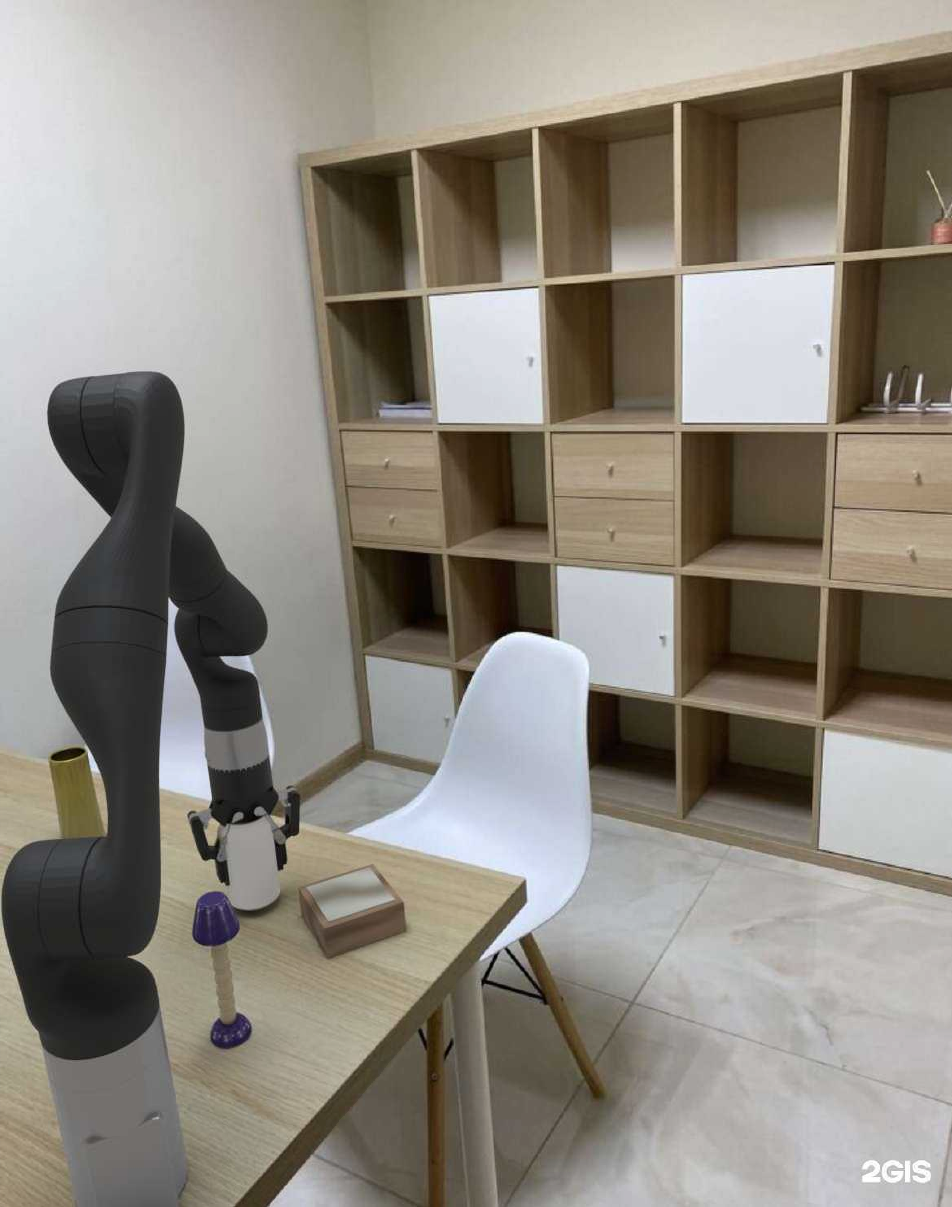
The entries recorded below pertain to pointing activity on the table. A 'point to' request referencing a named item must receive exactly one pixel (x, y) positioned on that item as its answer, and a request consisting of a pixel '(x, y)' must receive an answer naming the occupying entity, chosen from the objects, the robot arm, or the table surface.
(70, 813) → the vase
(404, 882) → the table surface
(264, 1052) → the table surface
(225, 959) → the toy lamp
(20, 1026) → the table surface
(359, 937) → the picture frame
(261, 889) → the can
